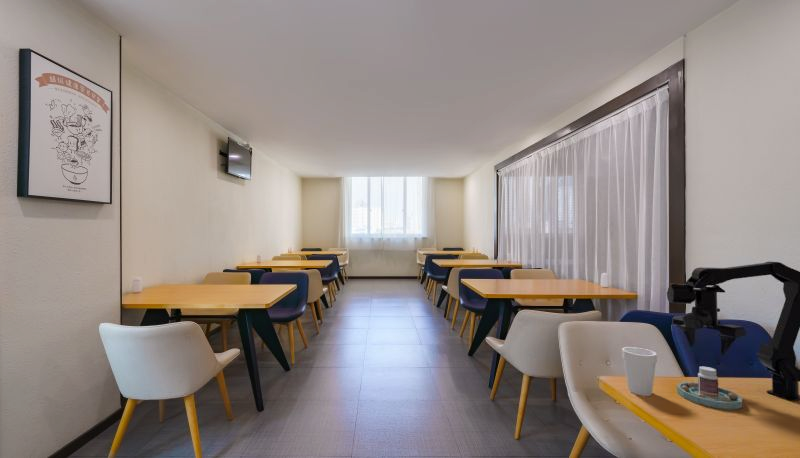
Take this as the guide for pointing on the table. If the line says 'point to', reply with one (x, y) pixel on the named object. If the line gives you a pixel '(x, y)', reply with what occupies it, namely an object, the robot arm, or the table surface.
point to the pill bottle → (708, 382)
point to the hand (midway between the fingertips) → (707, 350)
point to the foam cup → (639, 369)
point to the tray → (724, 401)
